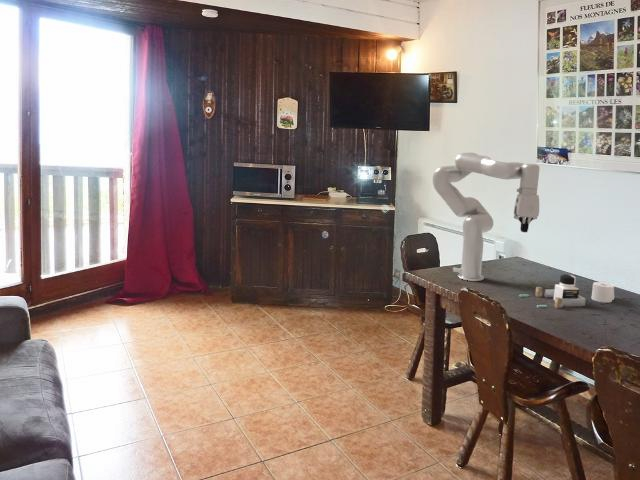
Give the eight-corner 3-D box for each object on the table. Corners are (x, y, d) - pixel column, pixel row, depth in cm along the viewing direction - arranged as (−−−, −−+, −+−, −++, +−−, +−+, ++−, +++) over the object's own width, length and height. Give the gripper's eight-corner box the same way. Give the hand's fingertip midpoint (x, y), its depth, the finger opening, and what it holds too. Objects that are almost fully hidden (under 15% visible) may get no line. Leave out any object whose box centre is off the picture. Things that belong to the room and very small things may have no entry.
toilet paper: (614, 297, 249) (616, 282, 247) (610, 303, 240) (612, 288, 238) (594, 294, 253) (596, 279, 252) (589, 300, 244) (591, 284, 243)
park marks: (537, 307, 231) (537, 305, 231) (519, 296, 247) (519, 294, 246) (546, 307, 232) (546, 305, 232) (527, 296, 247) (528, 294, 247)
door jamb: (556, 308, 231) (557, 298, 231) (535, 295, 249) (536, 286, 248) (561, 307, 232) (562, 298, 231) (539, 295, 249) (540, 286, 248)
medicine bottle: (561, 304, 236) (564, 277, 234) (553, 299, 243) (556, 273, 240) (577, 304, 237) (580, 277, 234) (568, 299, 244) (571, 273, 241)
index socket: (561, 306, 234) (562, 298, 233) (544, 296, 247) (544, 289, 247) (584, 306, 235) (585, 298, 234) (566, 296, 249) (566, 289, 248)
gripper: (516, 192, 245) (512, 233, 248) (548, 192, 246) (543, 233, 250) (508, 190, 252) (504, 230, 255) (539, 190, 254) (535, 230, 257)
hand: (524, 231), depth 253 cm, fingers closed
